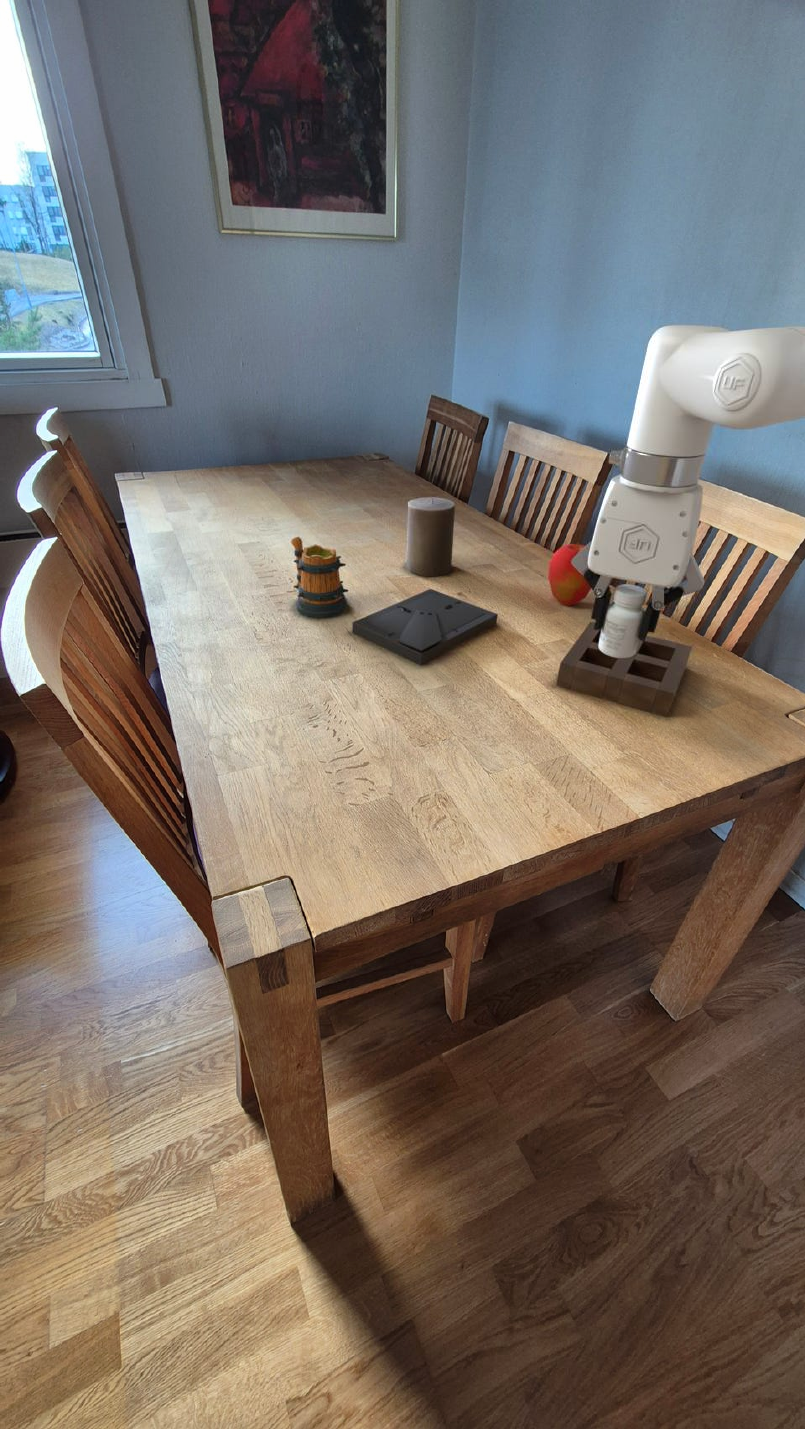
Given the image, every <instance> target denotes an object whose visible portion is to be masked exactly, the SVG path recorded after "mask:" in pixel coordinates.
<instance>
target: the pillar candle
mask: <svg viewBox="0 0 805 1429" xmlns="http://www.w3.org/2000/svg"><path fill="white" fill-rule="evenodd" d="M455 513H456V503H455V502H454V501H452V500H450V499H448V498H447V499H446V498H443V497H442V498H441V497H432V496H430V497H418V498H414V499H411V500H409V501H407V529H406V531H407V532H406V562H405V563H406V564H405V566H406V570H407V571H409V572H410V573H412V574H415V575H419V576H424V577H437V576H438V577H439V576H441V575H446V574H449V572H451V570H452V561H453V546H454V531H455V530H454V528H455V515H456V514H455Z"/></svg>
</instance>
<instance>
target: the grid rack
mask: <svg viewBox="0 0 805 1429" xmlns="http://www.w3.org/2000/svg"><path fill="white" fill-rule="evenodd" d="M594 625H595V622H593V621H590V622H589V623H588V624H587V626H586V627H585V628H584V629H583V631H582V632H581V634H580V635H579V636H578V638H577V639H576V641H575V642H574V644H573V645H572V646H571V647H570V649H569V650H568V652H567V653H566V654H565V656H564V657H563V659H562V660H561V661H560V663H559V669H558V672H557V673H558V674H557V678H556V684H555V685H556V686H557V687H560V688H564V689H567V690H572V691H575V692H579V693H582V694H585V695H588V696H593V697H596V698H599V699H603V700H607V701H610V702H613V703H616V704H620V705H623V706H627V707H630V708H634V709H637V710H640V711H644V712H647V713H652V714H654V715H657V716H662V717H665V718H668V716H669V713H670V711H671V709H672V705H673V702H674V701H675V697H676V694H677V692H678V689H679V686H680V684H681V681H682V678H683V676H684V673H685V670H686V668H687V665H688V662H689V659H690V655H691V653H692V650H693V646H691V645H688V644H684V643H680V642H676V641H672V640H667V639H664V638H659V637H656V636H651V635H647V637H646V639H645V641H641V640H640V639H639V642H638V646H637V650H636V653H635V654H634V655H633V656H631V657H627V658H615V657H611V656H609V655H606V654H604V653H603V652H602V651H601V650H600V649H599V647H598V645H599V640H600V635H601V630H602V628H601V629H600V630H594Z"/></svg>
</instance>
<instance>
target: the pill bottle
mask: <svg viewBox="0 0 805 1429" xmlns="http://www.w3.org/2000/svg"><path fill="white" fill-rule="evenodd" d="M647 595H648V591H647V590H646V589H645V588H643V587H641V586H638V585H635V584H619V585H617V586H616V587H615V590H614V592H613V595H612V596H613V597H612V601H613V602H610V604H609V605H608V606H607V608H606V612H605V617H604V621H603V626H602V630H601V635H600V640H599V645H598V647H599V649H600V650H601V651H602V652H603V653H604V654H606V655H609V656H611V657H615V658H627V657H631V656H633V655H634V654H635V653H636V650H637V646H638V642H639V639H638V637H639V634H640V630H641V626H642V622H643V618H644V615H645V611H646V609H645V608H644V607H643V606H644V605H645V603H646V599H647Z"/></svg>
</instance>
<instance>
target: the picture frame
mask: <svg viewBox="0 0 805 1429" xmlns="http://www.w3.org/2000/svg"><path fill="white" fill-rule="evenodd" d="M498 617H499V616H498V613H495V612H493V611H490V610H488V609H485V608H483V607H479V606H477V605H475V604H472V603H469V602H467V601H463V600H461V599H458V598H456V597H453V596H450V595H449V594H445V593H443V592H440V591H438V590H435V589H433V588H429V589H426V590H424V591H422V592H420V593H418V594H415V595H413V596H410V597H408V598H406V599H404V600H401V601H399V602H396V603H393V604H392V605H390V606H386V607H384V608H382V609H380V610H377V611H376V612H372V613H371V614H368V615H366V616H363V617H361V618H359V619H357V620H354V621H352V622H351V626H352V627H351V628H352V630H351V631H352V634H353V635H356V636H357V637H360V638H362V639H364V640H366V641H368V642H371V643H372V644H374V645H376V646H379V647H380V648H383V649H385V650H387V651H390V652H391V653H393V654H395V655H398V656H399V657H401V658H404V659H406V660H408V661H410V662H412V663H415V664H416V665H419V666H423V665H425V664H426V663H429V662H430V661H432V660H434V659H435V658H438V657H440V656H441V655H444V653H446V652H449V651H451V650H452V649H454V648H456V647H458V646H460V645H461V644H463V643H465V642H467V641H469V640H471V639H473V638H475V637H476V636H478V635H480V634H483V633H484V632H486V631H488V630H489V629H491V628H494V627H496V626H497V623H498Z"/></svg>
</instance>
